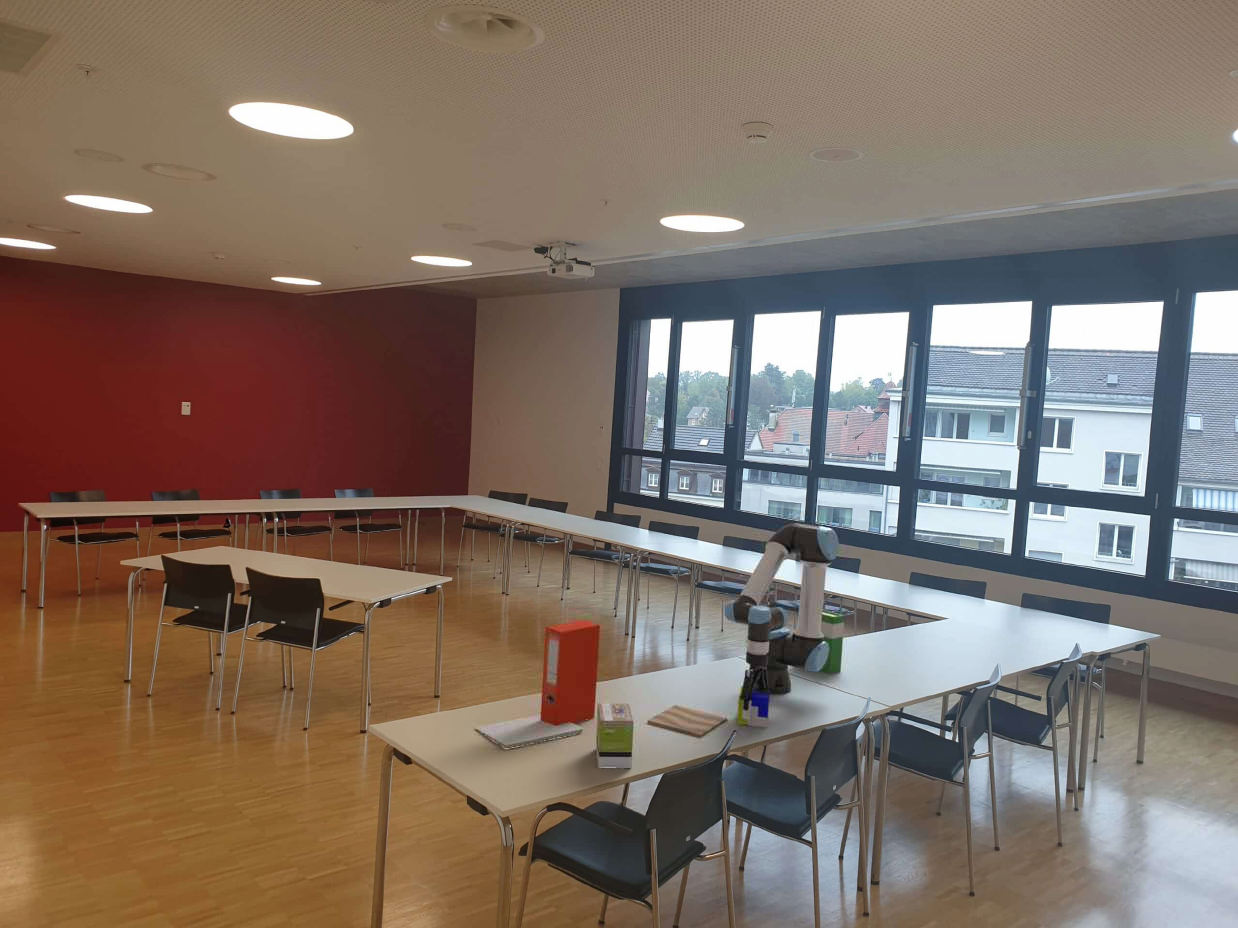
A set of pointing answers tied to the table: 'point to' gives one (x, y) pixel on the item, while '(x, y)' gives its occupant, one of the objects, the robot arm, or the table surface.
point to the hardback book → (832, 640)
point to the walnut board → (687, 720)
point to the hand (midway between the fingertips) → (753, 713)
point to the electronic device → (526, 731)
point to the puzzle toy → (756, 708)
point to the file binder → (570, 672)
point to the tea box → (614, 735)
